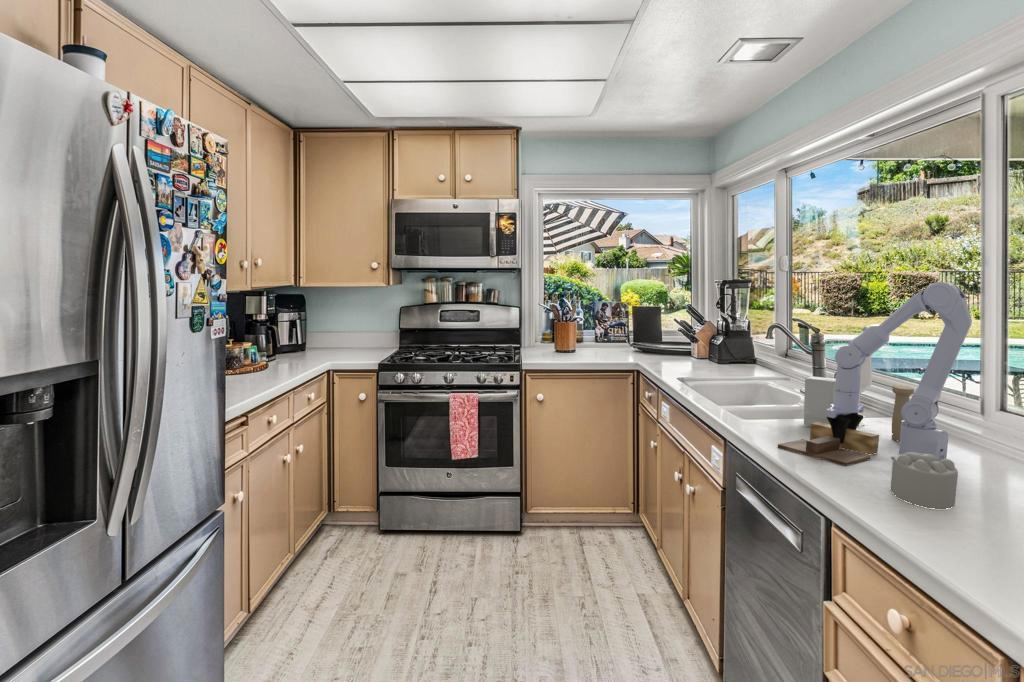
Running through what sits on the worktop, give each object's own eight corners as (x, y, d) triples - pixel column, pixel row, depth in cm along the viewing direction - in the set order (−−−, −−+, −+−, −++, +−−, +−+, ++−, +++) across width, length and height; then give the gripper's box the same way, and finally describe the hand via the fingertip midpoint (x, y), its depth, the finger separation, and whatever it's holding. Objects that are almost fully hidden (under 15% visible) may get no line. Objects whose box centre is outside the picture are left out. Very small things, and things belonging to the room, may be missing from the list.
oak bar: (877, 453, 158) (879, 434, 157) (870, 456, 156) (872, 436, 155) (816, 439, 171) (817, 421, 170) (809, 441, 169) (811, 423, 168)
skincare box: (837, 427, 185) (841, 378, 183) (830, 430, 180) (834, 380, 179) (808, 422, 191) (812, 375, 189) (801, 425, 186) (804, 377, 185)
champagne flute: (863, 427, 185) (870, 348, 183) (839, 423, 190) (846, 346, 188) (871, 424, 190) (878, 347, 187) (848, 420, 195) (854, 345, 192)
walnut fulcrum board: (870, 459, 152) (871, 445, 152) (845, 466, 146) (846, 451, 146) (802, 441, 167) (803, 429, 167) (777, 447, 161) (778, 434, 161)
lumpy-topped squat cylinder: (942, 492, 130) (946, 452, 129) (964, 514, 118) (969, 470, 117) (886, 485, 133) (889, 446, 132) (901, 506, 121) (905, 463, 120)
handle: (905, 438, 174) (910, 386, 172) (911, 444, 168) (916, 390, 166) (886, 436, 175) (890, 384, 174) (890, 442, 169) (895, 388, 168)
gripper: (847, 386, 169) (843, 434, 171) (816, 390, 161) (812, 441, 163) (873, 390, 163) (869, 440, 165) (843, 395, 155) (839, 447, 157)
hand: (842, 441), depth 163 cm, fingers closed on oak bar, 4 cm apart
